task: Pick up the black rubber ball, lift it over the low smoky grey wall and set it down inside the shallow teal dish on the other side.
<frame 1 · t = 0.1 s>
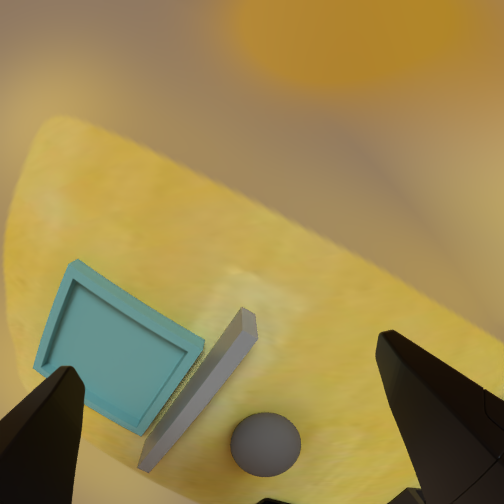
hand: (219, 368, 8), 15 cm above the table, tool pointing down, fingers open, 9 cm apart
phone stand: (409, 499, 33), on the table
low wall: (191, 389, 26), on the table
ball: (265, 445, 24), point 3 cm above the table
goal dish: (110, 353, 25), on the table
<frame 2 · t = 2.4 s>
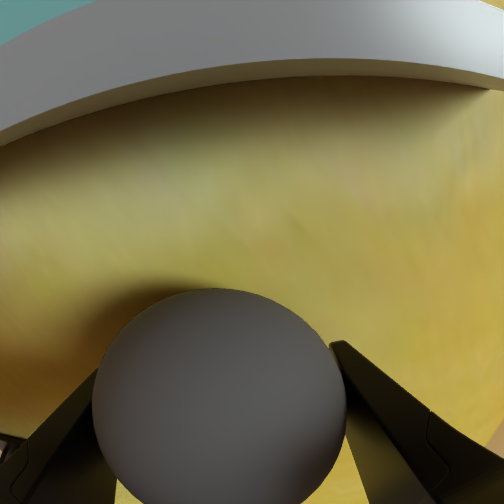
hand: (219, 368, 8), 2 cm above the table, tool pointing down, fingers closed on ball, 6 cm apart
low wall: (169, 68, 6), on the table
ball: (219, 411, 7), point 3 cm above the table, touching gripper
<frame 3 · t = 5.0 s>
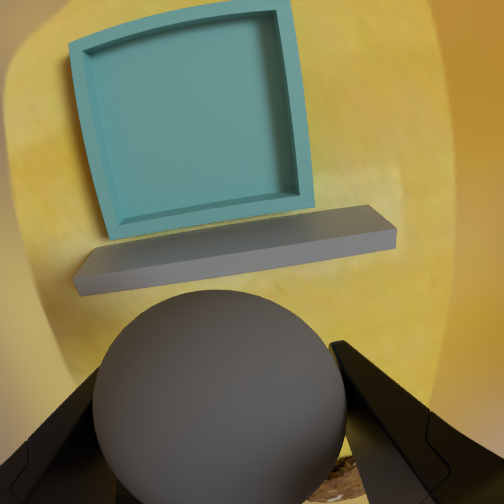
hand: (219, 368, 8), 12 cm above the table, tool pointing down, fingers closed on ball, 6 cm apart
decorative rock: (343, 471, 38), on the table
low wall: (230, 233, 20), on the table
ball: (219, 412, 7), point 14 cm above the table, touching gripper
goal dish: (191, 114, 17), on the table
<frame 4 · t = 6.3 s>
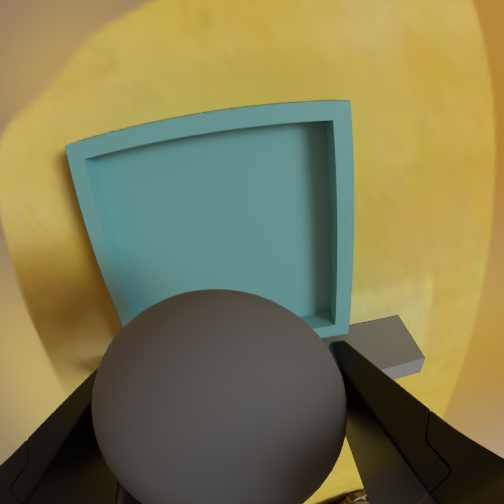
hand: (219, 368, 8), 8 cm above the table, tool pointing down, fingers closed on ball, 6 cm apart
decorative rock: (343, 501, 38), on the table
low wall: (259, 347, 19), on the table
ball: (218, 412, 7), point 10 cm above the table, touching gripper
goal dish: (222, 236, 16), on the table
when the fingers open (3 cm above the table, at t = 7.6 s): ball drops 2 cm, resting on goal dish.
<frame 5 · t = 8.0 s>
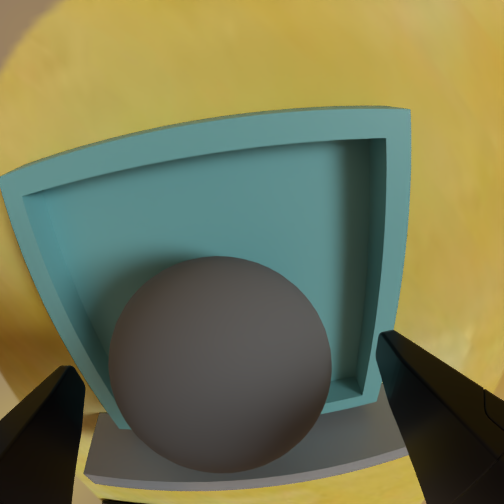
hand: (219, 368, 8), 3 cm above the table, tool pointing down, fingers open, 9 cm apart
low wall: (266, 412, 15), on the table
ball: (219, 366, 8), point 3 cm above the table, touching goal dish
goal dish: (220, 295, 11), on the table
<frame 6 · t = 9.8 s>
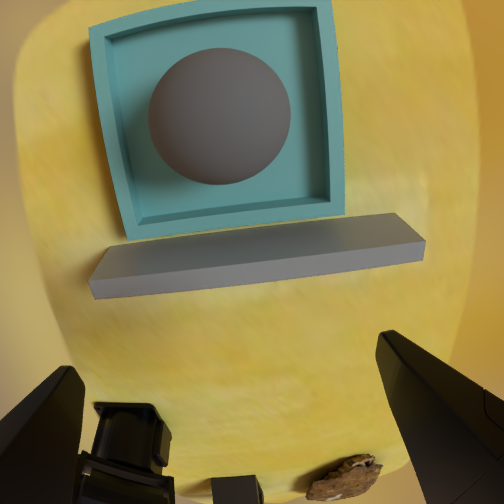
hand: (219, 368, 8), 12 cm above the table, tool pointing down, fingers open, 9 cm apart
phone stand: (238, 485, 38), on the table
decorative rock: (342, 470, 38), on the table
low wall: (254, 237, 19), on the table
ball: (219, 115, 13), point 3 cm above the table, touching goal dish
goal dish: (220, 111, 16), on the table
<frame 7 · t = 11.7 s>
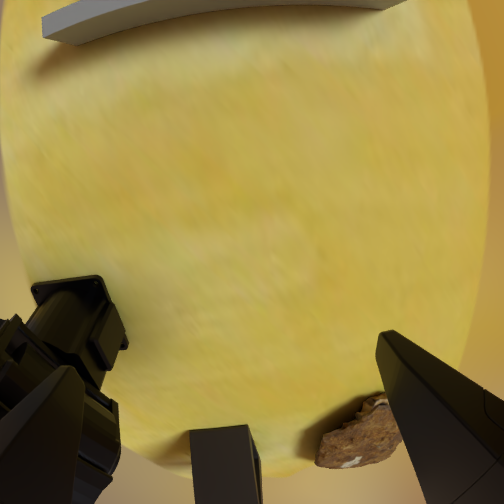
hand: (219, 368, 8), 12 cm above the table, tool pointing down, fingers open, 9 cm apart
phone stand: (227, 445, 31), on the table
decorative rock: (360, 423, 32), on the table
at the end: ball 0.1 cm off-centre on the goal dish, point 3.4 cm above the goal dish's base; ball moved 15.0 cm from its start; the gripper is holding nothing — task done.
